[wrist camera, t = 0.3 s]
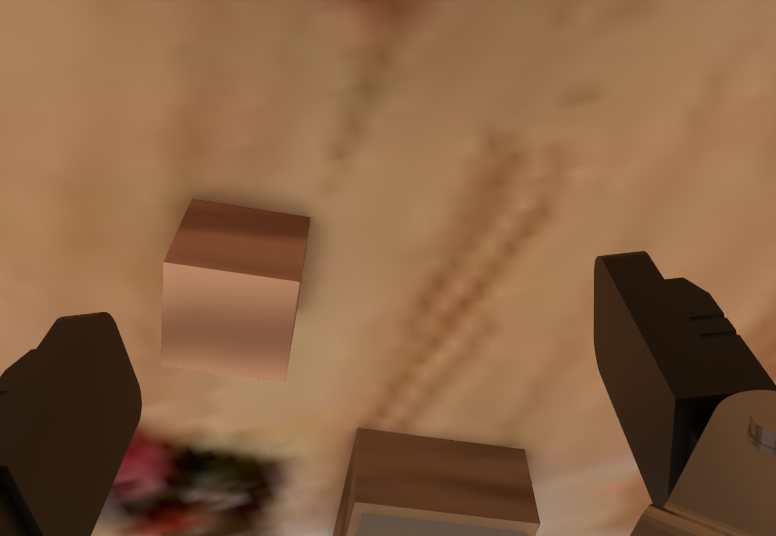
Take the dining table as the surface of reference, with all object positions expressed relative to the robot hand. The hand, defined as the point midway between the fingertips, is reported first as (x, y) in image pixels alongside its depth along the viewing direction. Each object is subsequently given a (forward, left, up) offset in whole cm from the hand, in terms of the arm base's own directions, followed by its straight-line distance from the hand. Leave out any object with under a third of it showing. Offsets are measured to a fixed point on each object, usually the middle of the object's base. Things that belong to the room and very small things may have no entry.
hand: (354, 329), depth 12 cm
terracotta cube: (+11, -4, -18) cm, 21 cm away
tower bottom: (+25, +7, -18) cm, 32 cm away
